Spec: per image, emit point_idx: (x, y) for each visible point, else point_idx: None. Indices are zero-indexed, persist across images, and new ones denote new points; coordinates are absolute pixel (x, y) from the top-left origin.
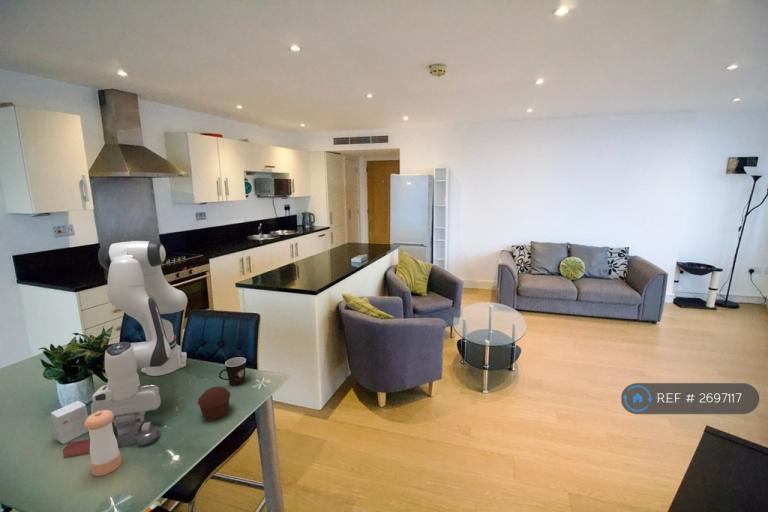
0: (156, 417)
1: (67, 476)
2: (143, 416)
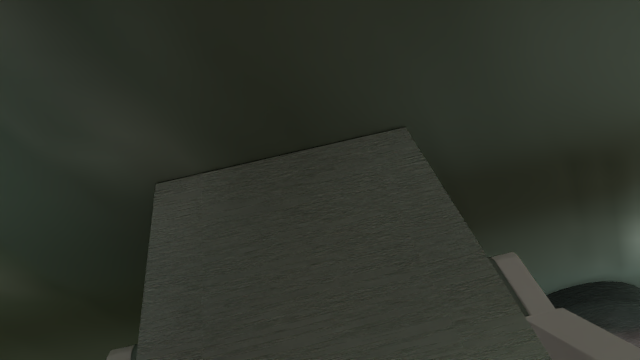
0: (587, 10)
1: None
2: (544, 308)
